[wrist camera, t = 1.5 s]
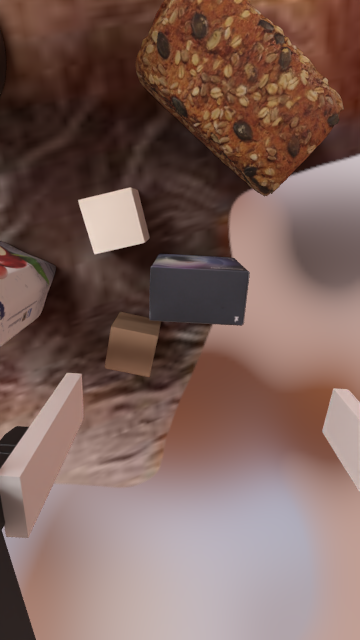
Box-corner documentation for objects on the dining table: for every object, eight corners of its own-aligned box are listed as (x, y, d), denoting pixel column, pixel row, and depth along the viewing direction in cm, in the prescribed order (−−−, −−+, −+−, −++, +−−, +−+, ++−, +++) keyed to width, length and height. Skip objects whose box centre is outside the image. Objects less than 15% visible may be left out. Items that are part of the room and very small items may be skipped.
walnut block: (120, 311, 45) (111, 326, 40) (161, 320, 46) (158, 336, 40) (113, 348, 47) (104, 368, 42) (153, 357, 48) (149, 377, 42)
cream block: (92, 201, 40) (77, 200, 35) (138, 190, 40) (130, 187, 34) (106, 247, 42) (94, 254, 37) (149, 238, 42) (144, 242, 36)
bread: (317, 127, 37) (363, 101, 28) (254, 201, 40) (276, 200, 31) (198, -2, 34) (204, -83, 24) (137, 90, 36) (121, 49, 27)
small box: (236, 254, 42) (252, 269, 33) (231, 301, 45) (245, 328, 35) (157, 250, 42) (149, 264, 32) (156, 297, 45) (148, 323, 35)
